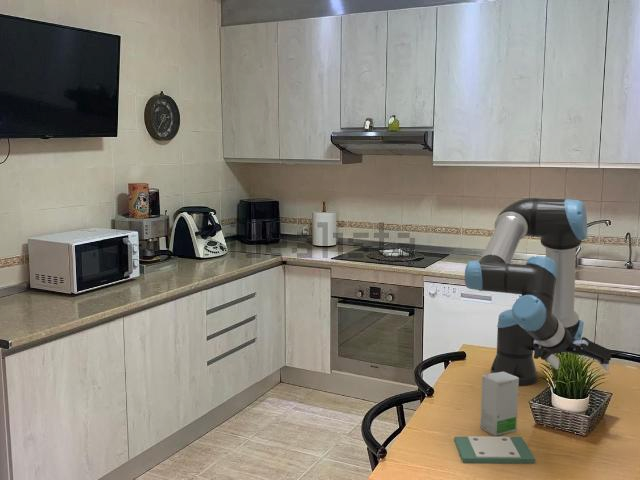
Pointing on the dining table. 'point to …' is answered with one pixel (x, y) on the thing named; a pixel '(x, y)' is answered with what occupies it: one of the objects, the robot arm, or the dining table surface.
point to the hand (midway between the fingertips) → (582, 365)
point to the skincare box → (499, 403)
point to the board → (493, 450)
